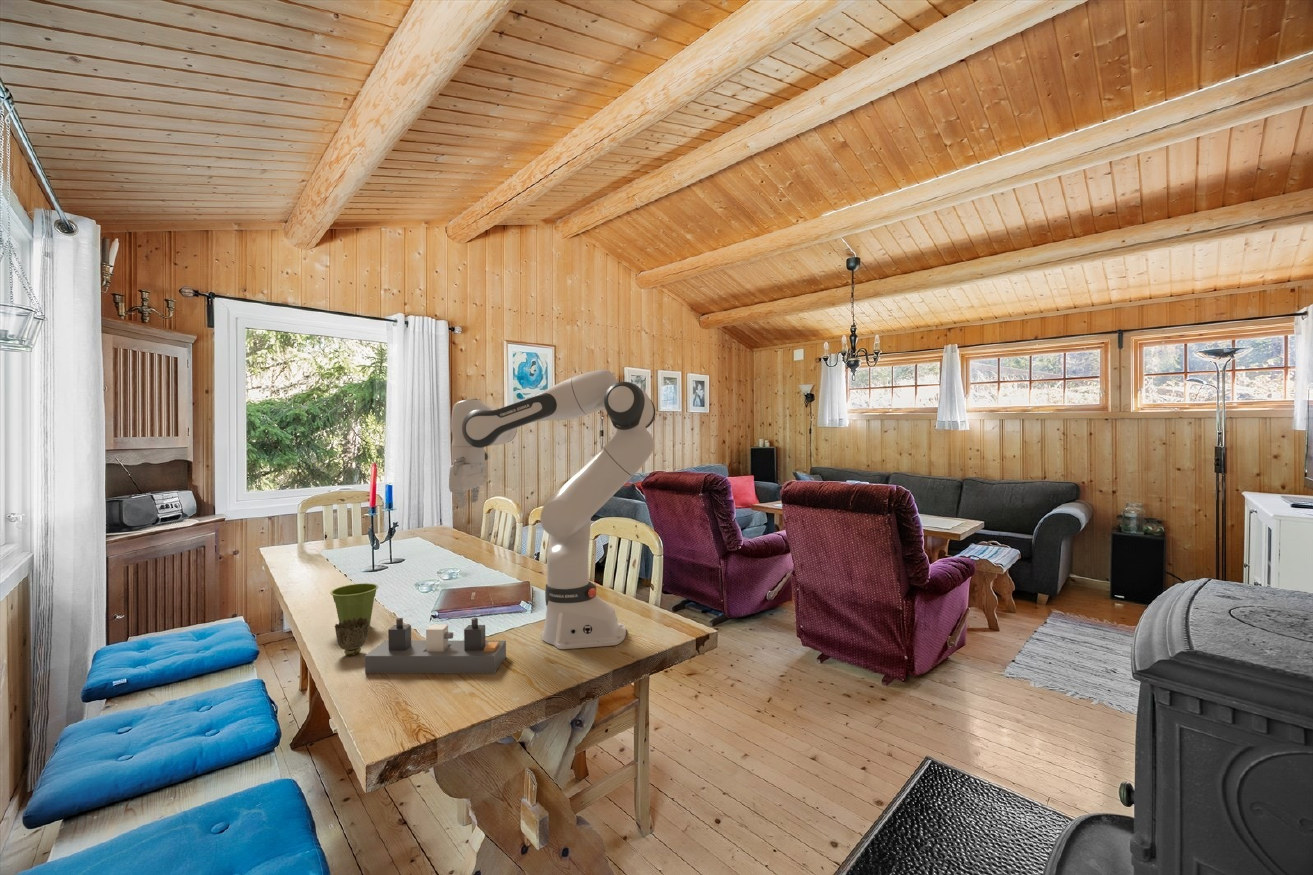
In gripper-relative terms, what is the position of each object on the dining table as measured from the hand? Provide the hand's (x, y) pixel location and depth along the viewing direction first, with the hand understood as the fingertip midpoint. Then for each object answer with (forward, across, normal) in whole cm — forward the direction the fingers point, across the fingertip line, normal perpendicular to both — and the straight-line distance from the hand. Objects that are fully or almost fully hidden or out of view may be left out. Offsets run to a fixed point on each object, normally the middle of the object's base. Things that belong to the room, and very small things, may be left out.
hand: (468, 504), depth 158 cm
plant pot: (+34, -4, +31) cm, 46 cm away
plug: (+33, -28, -2) cm, 43 cm away
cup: (+34, -21, +22) cm, 46 cm away
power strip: (+34, -28, -2) cm, 44 cm away
